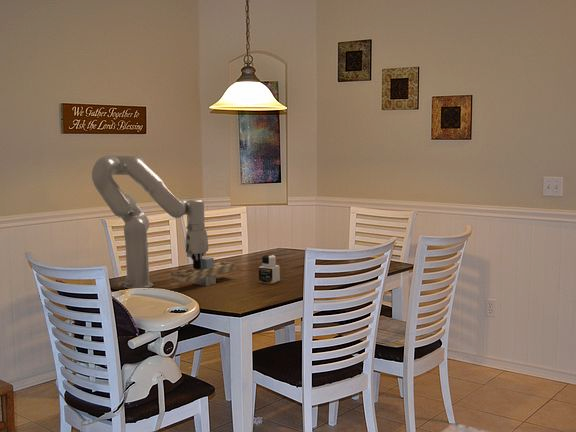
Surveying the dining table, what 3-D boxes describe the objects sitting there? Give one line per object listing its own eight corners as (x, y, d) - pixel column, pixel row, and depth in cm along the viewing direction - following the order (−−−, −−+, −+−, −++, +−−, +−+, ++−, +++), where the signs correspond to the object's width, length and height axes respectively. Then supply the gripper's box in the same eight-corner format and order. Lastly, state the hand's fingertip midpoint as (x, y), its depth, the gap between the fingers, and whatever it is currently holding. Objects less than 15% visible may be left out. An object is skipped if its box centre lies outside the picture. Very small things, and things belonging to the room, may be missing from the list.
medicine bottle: (258, 282, 319) (258, 256, 318) (266, 279, 325) (265, 253, 324) (272, 283, 316) (272, 257, 314) (280, 280, 322) (279, 254, 320)
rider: (206, 270, 316) (206, 259, 315) (199, 269, 318) (199, 258, 318) (213, 269, 319) (213, 258, 318) (206, 267, 322) (206, 257, 321)
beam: (183, 282, 303) (183, 274, 303) (171, 280, 308) (171, 272, 308) (235, 270, 328) (235, 262, 327) (223, 268, 333) (223, 260, 332)
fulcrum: (206, 286, 313) (206, 277, 313) (193, 283, 318) (193, 275, 318) (216, 283, 318) (215, 274, 317) (203, 281, 323) (203, 272, 323)
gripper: (189, 230, 304) (190, 272, 306) (214, 226, 315) (215, 267, 318) (177, 228, 309) (178, 270, 311) (202, 225, 320) (203, 265, 322)
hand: (197, 268), depth 314 cm, fingers closed
